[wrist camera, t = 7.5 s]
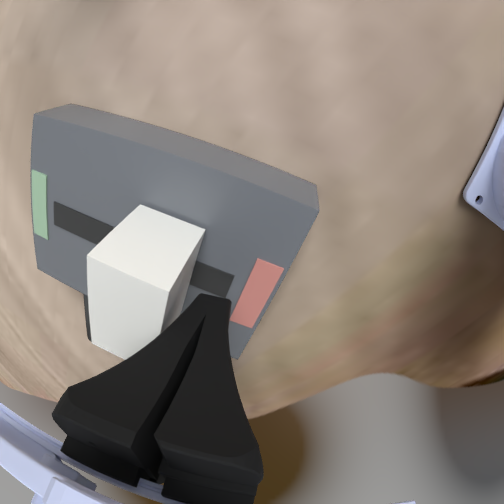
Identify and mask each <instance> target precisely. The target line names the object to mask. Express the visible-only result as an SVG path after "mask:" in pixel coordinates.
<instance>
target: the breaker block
mask: <svg viewBox="0 0 504 504" xmlns="http://www.w3.org/2000/svg"><path fill="white" fill-rule="evenodd" d="M140 204H141V205H144V206H146V207H149V208H151V209H154V210H156V211H159V212H162V213H164V214H167V215H169V216H172V217H175V218H177V219H180V220H182V221H185V222H187V223H190V224H193V225H195V226H198V227H200V228H203V229H205V233H204V236H203V239H202V242H201V246H200V249H199V252H198V256H197V259H196V262H195V266H194V269H193V272H192V276H191V279H190V283H189V286H188V290H187V293H186V297H185V300H184V304H183V307H182V311H181V313H180V315H181V314H182V313H183V312H184V311H185V309H186V308H187V307H188V306H189V305H190V304H191V303H192V302H193V301H194V299H195V298H196V297H197V296H198V295H199V294H200V293H203V294H208V295H212V296H217V297H222V298H226V299H230V300H231V302H232V304H231V312H230V320H229V329H228V333H229V347H230V355H231V357H232V358H235V359H238V358H239V356H240V355H241V353H242V351H243V350H244V348H245V346H246V344H247V343H248V341H249V339H250V338H251V336H252V334H253V332H254V331H255V329H256V327H257V325H258V324H259V322H260V320H261V318H262V317H263V315H264V313H265V311H266V309H267V308H268V306H269V304H270V302H271V300H272V299H273V297H274V295H275V293H276V291H277V290H278V288H279V286H280V284H281V282H282V281H283V279H284V277H285V275H286V273H287V271H288V270H289V268H290V266H291V264H292V262H293V260H294V258H295V257H296V255H297V253H298V251H299V249H300V247H301V245H302V243H303V242H304V240H305V238H306V236H307V234H308V232H309V230H310V228H311V226H312V224H313V222H314V221H315V219H316V217H317V215H318V213H319V203H318V195H317V187H316V185H315V184H313V183H311V182H308V181H306V180H304V179H301V178H299V177H296V176H294V175H292V174H289V173H287V172H284V171H282V170H280V169H277V168H275V167H272V166H270V165H267V164H265V163H262V162H259V161H257V160H254V159H252V158H249V157H246V156H244V155H241V154H238V153H236V152H233V151H230V150H227V149H225V148H222V147H219V146H216V145H213V144H210V143H208V142H205V141H202V140H199V139H196V138H193V137H190V136H187V135H184V134H181V133H177V132H174V131H171V130H168V129H165V128H161V127H158V126H155V125H151V124H148V123H145V122H141V121H138V120H134V119H130V118H127V117H123V116H119V115H116V114H112V113H108V112H104V111H100V110H96V109H92V108H87V107H83V106H79V105H74V104H68V105H64V106H60V107H56V108H53V109H49V110H45V111H42V112H39V113H35V114H34V118H33V129H32V144H31V208H32V223H33V235H34V244H35V253H36V260H37V267H38V269H39V270H41V271H43V272H44V273H46V274H48V275H50V276H51V277H53V278H55V279H57V280H59V281H60V282H62V283H64V284H66V285H68V286H70V287H72V288H73V289H75V290H77V291H79V292H81V293H83V294H85V295H87V296H88V287H87V255H88V254H89V253H90V251H91V250H92V249H93V248H94V247H96V246H97V245H98V244H99V243H100V242H101V241H102V240H103V239H104V238H105V237H106V236H107V235H108V234H109V233H110V232H111V231H112V230H113V229H114V228H115V227H116V226H117V225H118V224H119V223H120V222H122V221H123V220H124V219H125V218H126V217H127V216H128V215H129V214H130V213H131V212H132V211H134V210H135V209H136V208H137V207H138V206H139V205H140ZM180 315H179V316H180Z"/></svg>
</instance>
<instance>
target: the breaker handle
mask: <svg viewBox="0 0 504 504" xmlns="http://www.w3.org/2000/svg"><path fill="white" fill-rule="evenodd" d="M204 233H205V229H203V228H200V227H198V226H195V225H193V224H190V223H187V222H185V221H182V220H180V219H177V218H175V217H172V216H169V215H167V214H164V213H162V212H159V211H156V210H154V209H151V208H149V207H146V206H144V205H141V204H140V205H139V206H138V207H137V208H136V209H135V210H134V211H132V212H131V213H130V214H129V215H128V216H127V217H126V218H125V219H124V220H123V221H122V222H120V223H119V224H118V225H117V226H116V227H115V228H114V229H113V230H112V231H111V232H110V233H109V234H108V235H107V236H106V237H105V238H104V239H103V240H102V241H101V242H100V243H99V244H98V245H97V246H96V247H94V248H93V249H92V250H91V251H90V253H89V254H88V255H87V287H88V306H89V319H90V330H91V340H92V344H94V345H96V346H98V347H100V348H102V349H104V350H106V351H108V352H110V353H112V354H114V355H116V356H118V357H120V358H123V359H125V360H126V359H127V358H129V357H130V356H132V355H134V354H135V353H136V352H138V351H139V350H141V349H142V348H143V347H145V346H146V345H147V344H149V343H150V342H151V341H152V340H154V339H155V338H156V337H157V336H158V335H159V334H161V333H162V332H163V331H164V330H165V329H166V328H167V327H168V326H170V325H171V324H172V323H173V322H174V321H175V320H176V319H177V318H178V317H179V315H180V313H181V311H182V307H183V304H184V300H185V297H186V293H187V290H188V286H189V283H190V279H191V276H192V272H193V269H194V266H195V262H196V259H197V256H198V252H199V249H200V246H201V242H202V239H203V236H204Z"/></svg>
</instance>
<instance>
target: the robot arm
mask: <svg viewBox="0 0 504 504" xmlns="http://www.w3.org/2000/svg"><path fill="white" fill-rule="evenodd" d="M477 196H480V198H479V200H478V201H477V202H475V200H476V198H477ZM463 197H464V199H465V201H466V202H467V203H469V204H470V205H471V206H473V207H474V208H475V209H477V210H478V211H479V212H481V213H482V214H483V215H485V216H486V217H487V218H488V219H490V220H491V221H492V222H494V223H495V224H496V225H497V226H499V227H500V228H501V229H502V230H503V231H504V108H503V110H502V113H501V115H500V117H499V120H498V122H497V124H496V127H495V129H494V131H493V133H492V136H491V138H490V140H489V142H488V144H487V146H486V148H485V150H484V153H483V155H482V157H481V159H480V161H479V162H478V164H477V166H476V168H475V170H474V172H473V174H472V176H471V178H470V180H469V181H468V183H467V185H466V187H465V189H464V191H463ZM231 304H232V302H231V300H230V299H226V298H222V297H217V296H212V295H208V294H203V293H200V294H199V295H198V296H197V297H196V298H195V299H194V301H193V302H192V303H191V304H190V305H189V306H188V307H187V308H186V309H185V311H184V312H183V313H182V314H181V315H180V316H179V317H178V318H177V319H176V320H175V321H174V322H173V323H172V324H171V325H170V326H168V327H167V328H166V329H165V330H164V331H163V332H162V333H161V334H159V335H158V336H157V337H156V338H155V339H154V340H152V341H151V342H150V343H149V344H147V345H146V346H145V347H143V348H142V349H141V350H139V351H138V352H136V353H135V354H134V355H132V356H130V357H129V358H127V359H126V360H124V361H123V362H121V363H119V364H118V365H116V366H114V367H112V368H110V369H108V370H106V371H105V372H103V373H101V374H99V375H97V376H95V377H92V378H90V379H88V380H85V381H83V382H80V383H78V384H75V385H73V386H70V387H68V389H67V390H66V391H65V393H64V394H63V395H62V397H61V398H60V400H59V402H58V404H57V405H56V407H55V409H54V411H53V413H52V417H53V420H54V421H55V422H56V423H57V424H58V426H59V427H60V428H61V429H62V430H63V431H64V432H65V433H66V434H67V437H66V439H65V441H64V443H62V442H61V441H59V440H57V439H55V438H53V437H51V436H50V435H48V434H47V433H45V432H43V431H42V430H40V429H38V428H37V427H35V426H34V425H32V424H31V423H29V422H28V421H26V420H24V419H23V418H22V417H20V416H19V415H17V414H16V413H14V412H13V411H11V410H10V409H9V408H7V407H6V406H5V405H3V404H2V403H1V402H0V465H1V466H2V467H3V468H4V469H5V470H7V471H8V472H9V473H10V474H11V475H13V476H14V477H15V478H16V479H18V480H19V481H20V482H21V483H23V484H24V485H25V486H27V487H28V488H30V489H31V490H32V491H33V492H35V494H34V497H33V499H32V501H31V504H123V503H120V502H118V501H115V500H113V499H111V498H109V497H106V496H104V495H102V494H100V493H98V492H95V489H96V487H97V486H96V484H95V483H93V482H91V481H90V480H88V479H86V478H85V477H83V476H82V475H81V474H80V473H78V472H77V471H75V470H73V469H72V468H70V467H68V466H67V465H65V464H63V463H62V461H61V459H62V460H63V461H65V462H67V463H69V464H71V465H73V466H74V467H76V468H78V469H80V470H82V471H84V472H86V473H88V474H91V475H92V476H95V477H97V478H99V479H101V480H103V481H106V482H108V483H110V484H112V485H115V486H117V487H119V488H122V489H124V490H127V491H129V492H132V493H135V494H137V495H140V496H143V497H146V498H149V499H152V500H155V501H158V502H161V503H164V504H253V503H254V497H255V495H256V491H257V486H258V484H259V483H260V482H261V480H262V479H263V464H262V459H261V455H260V451H259V445H258V443H257V440H256V438H255V436H254V434H253V432H252V429H251V427H250V425H249V422H248V419H247V417H246V414H245V411H244V408H243V405H242V402H241V399H240V396H239V393H238V389H237V385H236V381H235V377H234V372H233V367H232V362H231V355H230V347H229V333H228V329H229V320H230V312H231ZM162 483H164V486H163V485H160V484H162ZM391 504H416V502H415V501H414V500H412V501H406V502H399V503H391Z"/></svg>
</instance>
